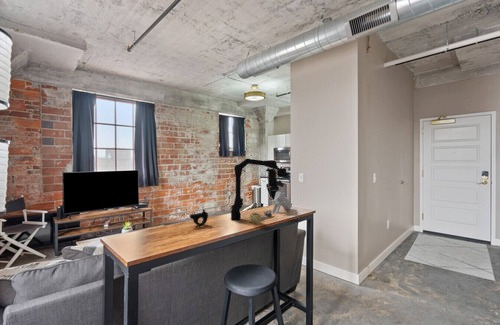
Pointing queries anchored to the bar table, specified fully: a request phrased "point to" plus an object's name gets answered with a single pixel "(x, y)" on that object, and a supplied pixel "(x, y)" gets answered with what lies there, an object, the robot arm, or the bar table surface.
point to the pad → (264, 218)
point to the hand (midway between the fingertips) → (272, 198)
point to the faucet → (281, 202)
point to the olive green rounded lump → (255, 218)
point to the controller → (199, 215)
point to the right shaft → (268, 213)
